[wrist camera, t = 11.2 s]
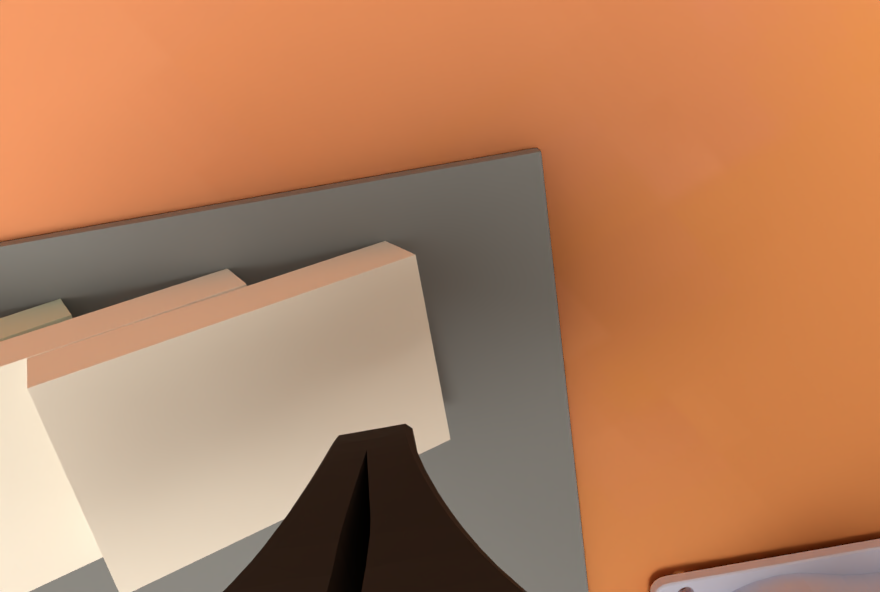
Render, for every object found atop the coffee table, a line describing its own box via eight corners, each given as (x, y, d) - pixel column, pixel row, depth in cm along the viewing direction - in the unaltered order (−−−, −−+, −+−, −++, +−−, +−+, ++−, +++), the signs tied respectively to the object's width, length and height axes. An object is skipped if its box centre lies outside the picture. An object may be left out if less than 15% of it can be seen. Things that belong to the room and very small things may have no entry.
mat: (536, 147, 17) (540, 151, 17) (594, 672, 24) (598, 685, 23) (-274, 290, 17) (-292, 298, 17) (15, 773, 24) (8, 788, 24)
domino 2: (415, 254, 16) (27, 388, 13) (450, 439, 18) (120, 596, 15) (385, 240, 17) (26, 358, 14) (420, 414, 19) (112, 553, 16)
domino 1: (246, 283, 16) (-188, 429, 12) (299, 465, 18) (-64, 635, 14) (227, 268, 17) (-171, 396, 14) (278, 439, 19) (-60, 589, 16)
